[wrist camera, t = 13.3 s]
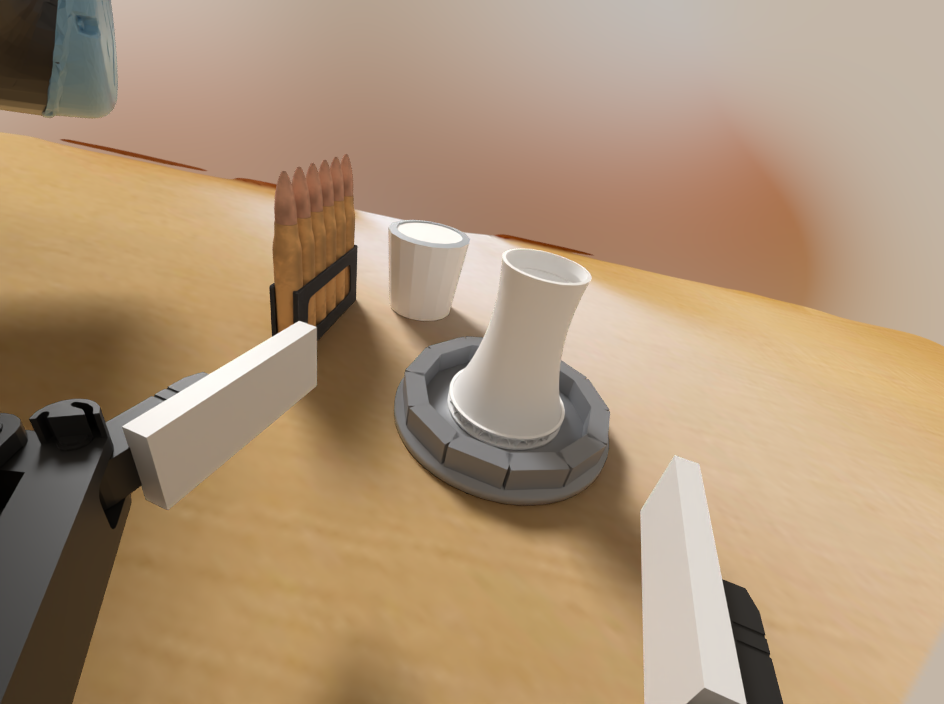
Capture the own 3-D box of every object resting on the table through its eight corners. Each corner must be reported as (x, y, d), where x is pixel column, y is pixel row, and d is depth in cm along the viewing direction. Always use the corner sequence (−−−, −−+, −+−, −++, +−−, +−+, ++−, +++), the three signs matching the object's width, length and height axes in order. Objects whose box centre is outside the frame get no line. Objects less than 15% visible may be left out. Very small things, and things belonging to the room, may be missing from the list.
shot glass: (452, 294, 43) (465, 225, 39) (460, 328, 37) (475, 251, 33) (383, 286, 41) (389, 214, 38) (380, 320, 36) (387, 239, 32)
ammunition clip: (298, 361, 29) (291, 177, 23) (271, 355, 29) (257, 169, 23) (356, 299, 38) (363, 155, 32) (336, 294, 38) (339, 149, 32)
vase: (466, 456, 24) (507, 293, 18) (435, 375, 29) (460, 234, 24) (581, 445, 26) (646, 300, 21) (532, 373, 32) (573, 245, 27)
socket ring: (349, 444, 23) (350, 415, 22) (443, 337, 35) (447, 315, 34) (597, 547, 21) (612, 520, 20) (610, 395, 33) (620, 373, 32)
